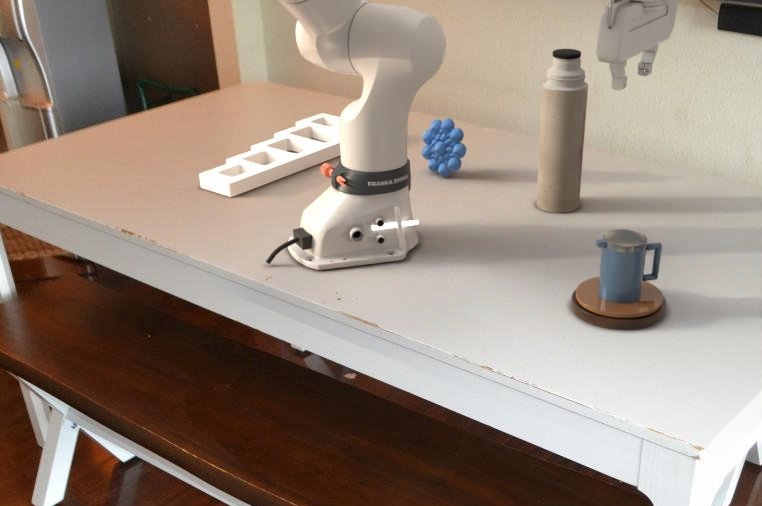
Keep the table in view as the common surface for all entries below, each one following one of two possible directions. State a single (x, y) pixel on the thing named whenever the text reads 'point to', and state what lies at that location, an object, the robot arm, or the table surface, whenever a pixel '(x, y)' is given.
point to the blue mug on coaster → (623, 277)
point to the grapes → (443, 147)
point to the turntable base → (615, 321)
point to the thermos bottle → (562, 133)
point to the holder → (277, 156)
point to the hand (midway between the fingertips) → (631, 81)
